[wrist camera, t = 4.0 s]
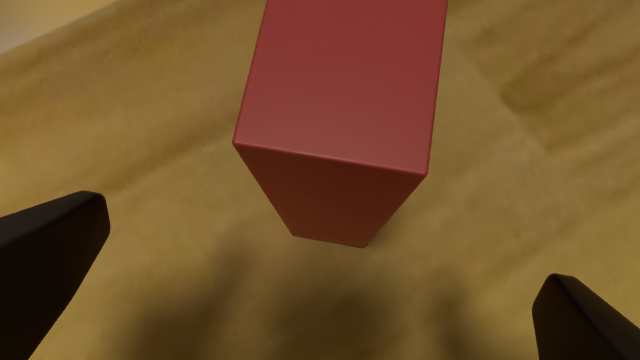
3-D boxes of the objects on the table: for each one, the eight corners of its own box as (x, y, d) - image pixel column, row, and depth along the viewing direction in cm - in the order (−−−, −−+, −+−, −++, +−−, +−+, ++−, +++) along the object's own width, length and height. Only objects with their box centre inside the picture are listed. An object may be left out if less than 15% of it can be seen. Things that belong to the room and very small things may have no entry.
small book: (363, 248, 20) (428, 176, 7) (291, 235, 20) (230, 143, 7) (387, 94, 22) (468, -174, 9) (321, 84, 22) (312, -191, 9)
